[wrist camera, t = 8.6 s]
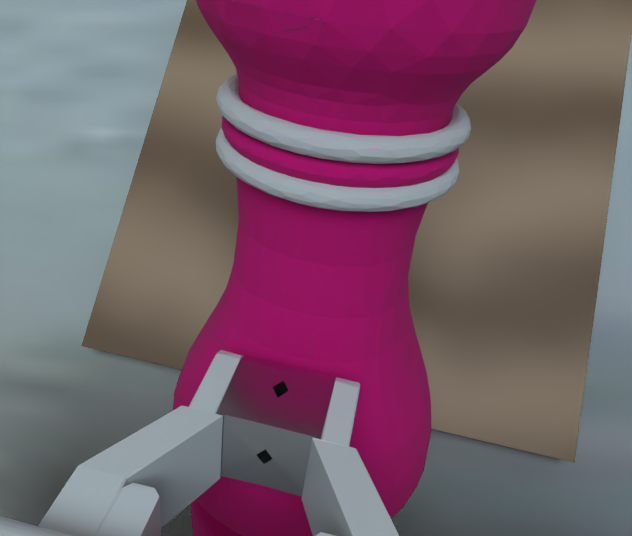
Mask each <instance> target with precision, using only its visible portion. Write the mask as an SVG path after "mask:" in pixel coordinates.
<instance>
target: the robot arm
mask: <svg viewBox="0 0 632 536" xmlns="http://www.w3.org/2000/svg"><path fill="white" fill-rule="evenodd" d="M334 383H335V384H334ZM359 390H360V383H359V382H355V381H350V380H346V379H341V378H337V377H336V380H335V377H332V376H328V375H324V374H319V373H315V372H310V371H306V370H301V369H297V368H292V367H287V366H283V365H279V364H275V363H271V362H267V361H264V360H260V359H256V358H252V357H248V356H242V355H239V354H235V353H231V352H227V351H223V350H220V351H219V352H218V353H217V354H216V355H215V357H214V359H213V361H212V363H211V365H210V367H209V368H208V370H207V372H206V374H205V376H204V378H203V380H202V382H201V384H200V386H199V388H198V390H197V392H196V394H195V396H194V397H193V399H192V401H191V403H190V405H189V407H187V406H180V407H178V408H176V409H175V410H173V411H171V412H169V413H168V414H166V415H164V416H163V417H161V418H159V419H157V420H156V421H154V422H152V423H151V424H149V425H147V426H145V427H144V428H142V429H140V430H138V431H137V432H135V433H133V434H132V435H130V436H128V437H126V438H125V439H123V440H121V441H120V442H118V443H116V444H114V445H113V446H111V447H109V448H107V449H106V450H104V451H102V452H101V453H99V454H97V455H95V456H94V457H92V458H90V459H89V460H87V461H85V462H83V463H82V464H80V465H78V466H77V468H76V469H75V471H74V472H73V474H72V475H71V477H70V478H69V480H68V481H67V483H66V484H65V486H64V487H63V489H62V490H61V492H60V493H59V495H58V496H57V498H56V499H55V501H54V502H53V504H52V506H51V507H50V509H49V510H48V512H47V513H46V515H45V516H44V518H43V519H42V521H41V522H40V524H39V525H38V526H35V525H32V524H28V523H24V522H21V521H17V520H13V519H10V518H6V517H3V516H0V536H162V532H161V528H162V527H164V526H165V525H166V524H167V523H168V522H169V521H171V520H172V519H173V518H174V517H175V516H176V515H178V514H179V513H180V512H181V511H182V510H184V509H185V508H186V507H187V506H188V505H189V504H191V503H192V502H193V501H194V500H195V499H197V498H198V497H199V496H200V495H201V494H202V493H204V492H205V491H206V490H207V489H208V488H210V487H211V486H212V485H213V484H214V483H215V482H217V481H218V480H219V479H220V476H224V477H228V478H232V479H237V480H241V481H246V482H250V483H254V484H259V485H263V486H266V487H270V488H273V489H277V490H280V491H284V492H287V493H291V494H294V495H298V496H301V497H302V502H303V505H304V509H305V512H306V515H307V518H308V522H309V525H310V528H311V531H312V535H313V536H399V534H398V532H397V530H396V528H395V526H394V524H393V522H392V520H391V518H390V516H389V514H388V512H387V510H386V508H385V506H384V504H383V502H382V500H381V498H380V496H379V494H378V492H377V490H376V488H375V485H374V483H373V481H372V479H371V477H370V475H369V473H368V471H367V469H366V467H365V465H364V463H363V461H362V459H361V457H360V455H359V453H358V451H357V449H356V448H353V447H349V445H350V439H351V434H352V428H353V423H354V418H355V412H356V407H357V401H358V396H359Z"/></svg>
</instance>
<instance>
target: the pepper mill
mask: <svg viewBox="0 0 632 536" xmlns="http://www.w3.org/2000/svg"><path fill="white" fill-rule="evenodd" d="M196 2H197V6H198V8H199V9H200V11H201V13H202V15H203V17H204V19H205V21H206V23H207V24H208V26H209V27H210V29H211V30H212V32H213V33H214V34H215V36H216V37H217V39H218V40H219V42H220V43H221V44H222V46H223V47H224V49H225V50H226V52H227V53H228V55H229V56H230V58H231V60H232V62H233V63H234V65H235V67H236V71H237V74H235V75H233V76H231V77H229V78H228V79H227V80H225V81H224V82H223V84H222V85H221V86H220V87H219V89H218V93H217V96H216V100H217V106H218V109H219V111H220V112H221V114H222V115H223V116H222V126H221V127H222V128H221V129H220V130H219V133H218V135H217V138H216V151H217V153H218V155H219V157H220V159H221V161H222V162H223V164H224V165H225V167H226V168H228V169H229V170H230V171H231V172H232V173H233V174H234V175H235V176H236V177H237V196H238V214H239V221H238V230H237V238H236V246H235V255H234V263H233V267H232V270H231V274H230V277H229V280H228V284H227V287H226V289H225V291H224V292H223V294H222V296H221V298H220V300H219V302H218V304H217V306H216V307H215V309H214V310H213V312H212V313H211V315H210V317H209V318H208V320H207V321H206V323H205V325H204V326H203V328H202V329H201V331H200V333H199V335H198V336H197V338H196V340H195V341H194V343H193V345H192V346H191V348H190V350H189V352H188V354H187V357H186V360H185V363H184V365H183V368H182V371H181V373H180V376H179V379H178V382H177V386H176V389H175V392H174V404H173V410H175V409H176V408H178V407H180V406H187V407H189V405H190V403H191V401H192V399H193V397H194V396H195V394H196V392H197V390H198V388H199V386H200V384H201V382H202V380H203V378H204V376H205V374H206V372H207V370H208V368H209V367H210V365H211V363H212V361H213V359H214V357H215V355H216V354H217V353H218V352H219V351H220V350H223V351H227V352H231V353H235V354H239V355H242V356H248V357H252V358H256V359H260V360H264V361H267V362H271V363H275V364H279V365H283V366H287V367H292V368H297V369H301V370H306V371H310V372H315V373H319V374H324V375H328V376H332V377H335V380H336V377H337V378H341V379H346V380H350V381H355V382H359V383H360V390H359V396H358V401H357V407H356V412H355V418H354V423H353V428H352V434H351V439H350V445H349V447H353V448H356V449H357V451H358V453H359V455H360V457H361V459H362V461H363V463H364V465H365V467H366V469H367V471H368V473H369V475H370V477H371V479H372V481H373V483H374V485H375V488H376V490H377V492H378V494H379V496H380V498H381V500H382V502H383V504H384V506H385V508H386V510H387V512H388V514H389V516H390V518H392V517H393V516H394V515H395V514H396V513H397V512H398V511H399V510H401V509H402V508H403V506H404V505H405V503H406V502H407V500H408V499H409V497H410V496H411V494H412V493H413V491H414V490H415V488H416V487H417V485H418V482H419V480H420V477H421V475H422V473H423V470H424V466H425V460H426V455H427V450H428V445H429V440H430V434H431V398H430V390H429V383H428V377H427V371H426V367H425V364H424V360H423V357H422V353H421V349H420V346H419V342H418V339H417V335H416V331H415V328H414V324H413V319H412V315H411V310H410V306H409V282H408V274H409V269H410V264H411V258H412V253H413V248H414V242H415V237H416V234H417V231H418V228H419V226H420V223H421V220H422V218H423V215H424V212H425V210H426V207H427V205H428V203H429V202H431V201H433V200H435V199H438V198H440V197H442V196H444V195H445V194H446V193H447V192H448V191H449V190H450V189H451V188H453V186H454V185H455V183H456V181H457V179H458V176H459V162H458V160H457V156H458V154H459V147H460V146H461V145H462V144H464V143H465V142H466V140H467V139H468V137H469V135H470V131H471V125H470V118H469V116H468V115H467V113H466V111H465V110H464V109H463V108H462V107H461V106H460V105H459V104H457V101H458V100H459V98H460V96H461V95H462V94H463V92H464V91H465V90H466V89H467V88H468V87H469V85H470V84H471V83H472V82H474V81H475V80H476V79H477V78H479V77H480V76H481V75H482V74H484V73H485V72H486V71H487V70H489V69H490V68H491V67H492V66H494V65H495V64H496V63H497V62H499V61H500V60H501V59H502V58H503V57H504V56H505V55H506V54H507V53H508V52H509V51H510V50H511V48H512V47H513V46H514V44H515V43H516V41H517V40H518V38H519V37H520V35H521V33H522V32H523V30H524V29H525V27H526V26H527V23H528V21H529V18H530V16H531V13H532V10H533V8H534V5H535V3H536V0H196ZM334 384H335V383H334ZM191 514H192V528H193V533H194V536H313V535H312V531H311V528H310V525H309V522H308V518H307V515H306V512H305V509H304V505H303V502H302V497H301V496H298V495H294V494H291V493H287V492H284V491H280V490H277V489H273V488H270V487H266V486H263V485H259V484H254V483H250V482H246V481H241V480H237V479H232V478H228V477H224V476H220V479H219V480H218V481H217V482H215V483H214V484H213V485H212V486H211V487H210V488H208V489H207V490H206V491H205V492H204V493H202V494H201V495H200V496H199V497H198V498H197V499H195V500H194V501H193V502H192V503H191Z"/></svg>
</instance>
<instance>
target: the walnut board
mask: <svg viewBox="0 0 632 536" xmlns="http://www.w3.org/2000/svg"><path fill="white" fill-rule="evenodd" d="M631 34H632V0H536V3H535V5H534V8H533V10H532V13H531V16H530V18H529V21H528V23H527V26H526V27H525V29H524V30H523V32H522V33H521V35H520V37H519V38H518V40H517V41H516V43H515V44H514V46H513V47H512V48H511V50H510V51H509V52H508V53H507V54H506V55H505V56H504V57H503V58H502V59H501V60H500V61H499V62H497V63H496V64H495V65H494V66H492V67H491V68H490V69H489V70H487V71H486V72H485V73H484V74H482V75H481V76H480V77H479V78H477V79H476V80H475V81H474V82H472V83H471V84H470V85H469V87H468V88H467V89H466V90H465V91H464V92H463V94H462V95H461V96H460V98H459V100H458V101H457V104H459V105H460V106H461V107H462V108H463V109H464V110H465V111H466V113H467V115H468V116H469V118H470V125H471V131H470V135H469V137H468V139H467V140H466V142H465V143H464V144H462V145H461V146H460V147H459V154H458V156H457V160H458V162H459V176H458V179H457V181H456V183H455V185H454V186H453V188H451V189H450V190H449V191H448V192H447V193H446V194H445V195H444V196H442V197H440V198H438V199H435V200H433V201H431V202H429V203H428V205H427V207H426V210H425V212H424V215H423V218H422V220H421V223H420V226H419V228H418V231H417V234H416V237H415V242H414V248H413V253H412V258H411V264H410V269H409V274H408V282H409V306H410V310H411V315H412V319H413V324H414V328H415V331H416V335H417V339H418V342H419V346H420V349H421V353H422V357H423V360H424V364H425V367H426V371H427V377H428V383H429V390H430V398H431V429H435V430H439V431H444V432H448V433H452V434H456V435H460V436H465V437H469V438H473V439H477V440H482V441H486V442H490V443H494V444H498V445H503V446H507V447H511V448H515V449H520V450H524V451H528V452H532V453H537V454H541V455H545V456H549V457H553V458H558V459H562V460H566V461H570V462H575V455H576V447H577V440H578V432H579V425H580V417H581V410H582V402H583V395H584V387H585V380H586V372H587V365H588V357H589V350H590V342H591V335H592V327H593V320H594V312H595V305H596V297H597V290H598V282H599V274H600V267H601V259H602V252H603V244H604V237H605V229H606V222H607V214H608V207H609V199H610V192H611V184H612V177H613V169H614V162H615V154H616V147H617V139H618V132H619V124H620V117H621V109H622V102H623V94H624V87H625V79H626V71H627V64H628V56H629V49H630V41H631ZM235 74H237V71H236V67H235V65H234V63H233V62H232V60H231V58H230V56H229V55H228V53H227V52H226V50H225V49H224V47H223V46H222V44H221V43H220V42H219V40H218V39H217V37H216V36H215V34H214V33H213V32H212V30H211V29H210V27H209V26H208V24H207V23H206V21H205V19H204V17H203V15H202V13H201V11H200V9H199V8H198V6H197V2H196V0H187V3H186V6H185V9H184V13H183V16H182V19H181V23H180V26H179V29H178V32H177V36H176V39H175V42H174V45H173V49H172V52H171V55H170V58H169V62H168V65H167V68H166V72H165V75H164V78H163V81H162V85H161V88H160V91H159V94H158V98H157V101H156V104H155V108H154V111H153V114H152V117H151V121H150V124H149V127H148V130H147V134H146V137H145V140H144V144H143V147H142V150H141V153H140V157H139V160H138V163H137V166H136V170H135V173H134V176H133V180H132V183H131V186H130V189H129V193H128V196H127V199H126V202H125V206H124V209H123V212H122V215H121V219H120V222H119V225H118V229H117V232H116V235H115V238H114V242H113V245H112V248H111V251H110V255H109V258H108V261H107V265H106V268H105V271H104V274H103V278H102V281H101V284H100V287H99V291H98V294H97V297H96V301H95V304H94V307H93V310H92V314H91V317H90V320H89V323H88V327H87V330H86V333H85V336H84V340H83V343H82V346H84V347H89V348H93V349H97V350H101V351H105V352H110V353H114V354H118V355H122V356H127V357H131V358H135V359H139V360H144V361H148V362H152V363H156V364H160V365H165V366H169V367H173V368H177V369H182V368H183V365H184V363H185V360H186V357H187V354H188V352H189V350H190V348H191V346H192V345H193V343H194V341H195V340H196V338H197V336H198V335H199V333H200V331H201V329H202V328H203V326H204V325H205V323H206V321H207V320H208V318H209V317H210V315H211V313H212V312H213V310H214V309H215V307H216V306H217V304H218V302H219V300H220V298H221V296H222V294H223V292H224V291H225V289H226V287H227V284H228V280H229V277H230V274H231V270H232V267H233V263H234V255H235V246H236V238H237V230H238V221H239V214H238V196H237V177H236V176H235V175H234V174H233V173H232V172H231V171H230V170H229V169H228V168H226V167H225V165H224V164H223V162H222V161H221V159H220V157H219V155H218V153H217V151H216V138H217V135H218V133H219V130H220V129H221V128H222V127H221V126H222V116H223V115H222V114H221V112H220V111H219V109H218V106H217V100H216V96H217V93H218V89H219V87H220V86H221V85H222V84H223V82H224V81H225V80H227V79H228V78H229V77H231V76H233V75H235Z"/></svg>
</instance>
